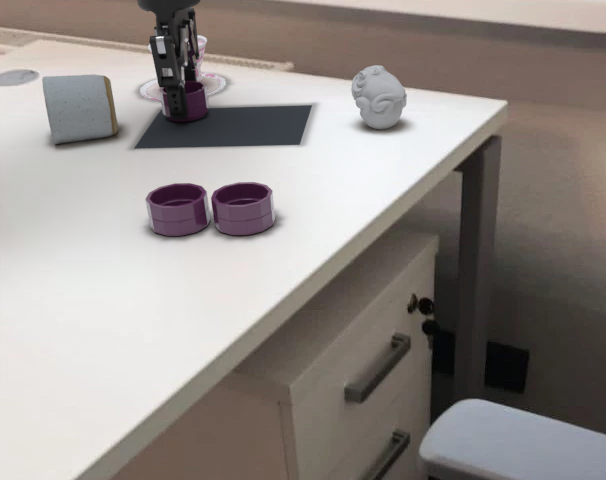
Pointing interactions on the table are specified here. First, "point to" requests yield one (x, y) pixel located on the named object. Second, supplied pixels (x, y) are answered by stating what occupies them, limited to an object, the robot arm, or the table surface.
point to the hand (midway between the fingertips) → (185, 108)
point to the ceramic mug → (79, 107)
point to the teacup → (201, 47)
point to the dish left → (189, 101)
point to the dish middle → (178, 209)
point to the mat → (230, 128)
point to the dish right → (243, 208)
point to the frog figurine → (378, 97)
